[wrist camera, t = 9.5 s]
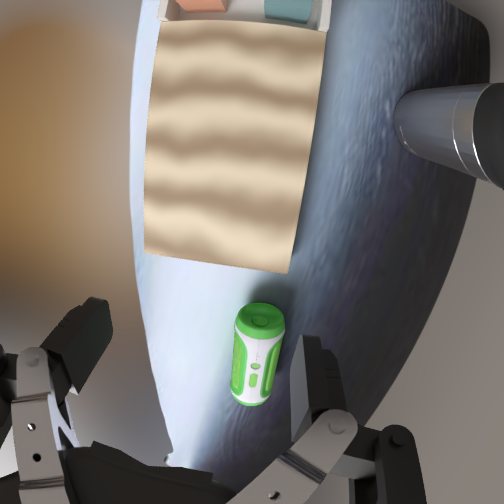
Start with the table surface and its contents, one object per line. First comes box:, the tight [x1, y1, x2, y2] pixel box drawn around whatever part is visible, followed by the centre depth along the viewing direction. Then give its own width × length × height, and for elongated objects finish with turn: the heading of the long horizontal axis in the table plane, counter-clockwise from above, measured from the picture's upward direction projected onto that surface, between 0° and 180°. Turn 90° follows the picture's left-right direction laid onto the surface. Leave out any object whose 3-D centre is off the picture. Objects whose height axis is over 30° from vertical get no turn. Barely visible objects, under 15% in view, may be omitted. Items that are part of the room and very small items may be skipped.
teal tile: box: [264, 0, 313, 24], centre depth 24 cm, size 5×5×2 cm
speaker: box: [230, 303, 285, 406], centre depth 44 cm, size 18×7×8 cm, turn 175°
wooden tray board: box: [144, 20, 326, 274], centre depth 33 cm, size 30×19×4 cm, turn 173°
